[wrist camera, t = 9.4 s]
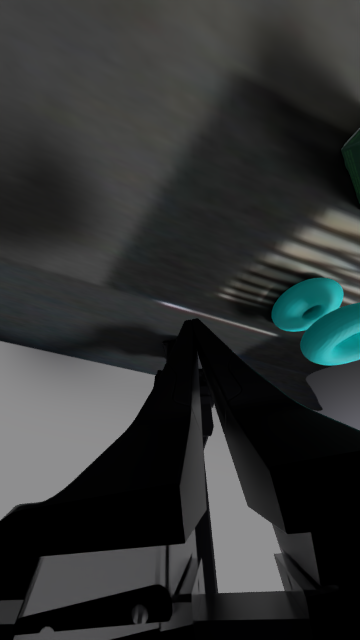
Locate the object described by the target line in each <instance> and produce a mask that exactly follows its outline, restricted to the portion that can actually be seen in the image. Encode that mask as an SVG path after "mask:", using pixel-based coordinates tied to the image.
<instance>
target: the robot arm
mask: <svg viewBox="0 0 360 640" xmlns="http://www.w3.org/2000/svg"><path fill="white" fill-rule="evenodd" d="M163 348H164V351H165V355H166V364H165V366H164V369H163V371H161V370H158V372H157V374H156V376H155V381H154V387H153V390H152V392H151V393H150V395H149V396H148V398H147V400H146V402H145V403H144V405H143V407H142V408H141V410H140V412H139V413H138V415H137V417H136V418H135V420H134V421H133V423H132V424H131V425H130V426H129V428H128V429H127V430H126V431H125V432H124V433H123V434H122V435H121V436H120V437H119V438H118V439H117V440H116V441H115V442H114V443H113V444H112V445H111V446H109V447H108V448H107V449H106V450H105V451H104V452H103V453H102V454H101V455H100V456H99V457H98V458H97V459H96V460H95V461H94V462H93V463H92V464H90V465H89V466H88V467H87V468H86V469H85V470H84V471H83V472H82V473H81V474H80V475H79V476H78V477H77V478H76V479H75V480H74V481H72V482H71V483H70V484H69V485H68V486H67V487H66V488H64V489H63V490H62V491H60V492H59V493H58V494H56V495H55V496H53V497H51V498H49V499H48V500H46V501H43V502H38V503H27V504H19V505H17V506H15V507H14V508H13V509H12V510H11V511H10V512H9V513H8V514H7V515H6V516H5V517H4V518H3V519H1V521H0V640H360V430H357V429H355V428H352V427H350V426H348V425H346V424H343V423H341V422H339V421H336V420H334V419H332V418H329V417H327V416H325V415H322V414H320V413H318V412H315V411H313V410H311V409H309V408H307V407H305V406H303V405H301V404H299V403H298V402H296V401H294V400H293V399H291V398H290V397H288V396H287V395H286V394H284V393H283V392H282V391H280V390H279V389H278V388H277V387H275V386H274V385H273V384H271V383H270V382H269V381H267V380H266V379H265V378H264V377H262V376H261V375H260V374H258V373H257V372H256V371H255V370H253V369H252V368H251V367H250V366H248V365H247V364H246V363H245V362H244V361H243V360H242V359H240V358H239V357H238V356H237V355H236V354H235V353H234V352H233V351H232V350H231V349H230V348H229V347H228V346H227V345H226V344H225V343H223V342H222V341H221V340H220V339H219V338H218V337H217V336H216V335H215V334H214V333H213V332H212V331H211V330H210V329H209V328H208V327H207V326H206V325H205V324H203V323H202V322H201V321H200V320H199V319H198V318H196V319H192V321H191V320H186V321H184V324H183V326H182V328H181V330H180V333H179V335H178V337H177V339H176V340H172V341H164V342H163ZM197 352H198V353H197ZM198 356H199V359H200V362H201V365H202V369H198ZM214 404H215V408H216V410H217V414H218V416H219V420H220V422H221V426H222V429H223V432H224V434H225V438H226V441H227V444H228V447H229V450H230V453H231V456H232V459H233V462H234V465H235V468H236V471H237V474H238V478H239V481H240V483H241V487H242V490H243V493H244V496H245V499H246V502H247V505H248V507H250V508H251V509H253V510H254V511H255V512H257V513H258V514H260V515H261V516H262V517H264V518H265V519H267V520H268V521H269V522H271V523H272V525H273V528H274V531H275V534H276V537H277V540H278V543H279V546H280V549H281V552H282V553H281V554H274V556H275V559H276V563H277V566H278V570H279V573H280V576H281V580H282V583H283V586H284V589H285V591H275V592H244V593H218V588H217V579H216V570H215V559H214V549H213V541H212V530H211V520H210V511H209V502H208V492H207V482H206V472H205V463H204V448H205V445H206V442H207V439H208V436H211V435H212V431H213V420H212V410H211V408H213V405H214Z"/></svg>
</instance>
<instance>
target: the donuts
mask: <svg viewBox="0 0 360 640" xmlns="http://www.w3.org/2000/svg"><path fill="white" fill-rule="evenodd" d="M342 300H343V289H342V287H341V286H340V284H339V283H337V282H336V281H334V280H332V279H329V278H312V279H308V280H305V281H302V282H300V283H298V284H296V285H294V286H292V287H291V288H289V289H288V290H286V291H285V292H284V293H283V294H282V295H281V296H280V297H279V298H278V299H277V301H276V303H275V304H274V306H273V309H272V320H273V322H274V324H275V325H276V326H277V327H279V328H280V329H282V330H285V331H292V332H296V331H303V330H306V332H305V333H304V335H303V337H302V339H301V345H300V347H301V351H302V353H303V355H304V356H305V357H306V358H307V359H309V360H310V361H312V362H314V363H317V364H321V365H340V364H345V363H349V362H353V361H356V360H359V359H360V303H355V304H351V305H347V306H344V307H341V308H339V307H340V305H341V303H342Z"/></svg>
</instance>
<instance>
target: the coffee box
mask: <svg viewBox="0 0 360 640" xmlns="http://www.w3.org/2000/svg"><path fill="white" fill-rule="evenodd" d="M341 153H342V155H343V158H344V161H345V167H346V169H347V170H348V171H349V174H350V177H351V180H352V183H353V186H354V189H355V192H356V196H357V200H358V202H359V204H360V128H359V129H358V130H357V131H356V132H355V133H354V134H353V135H352V136H351V138H350V139H349V140H348V141H347V142H346V143H345V144H344V146H343V148H342V149H341Z"/></svg>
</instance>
